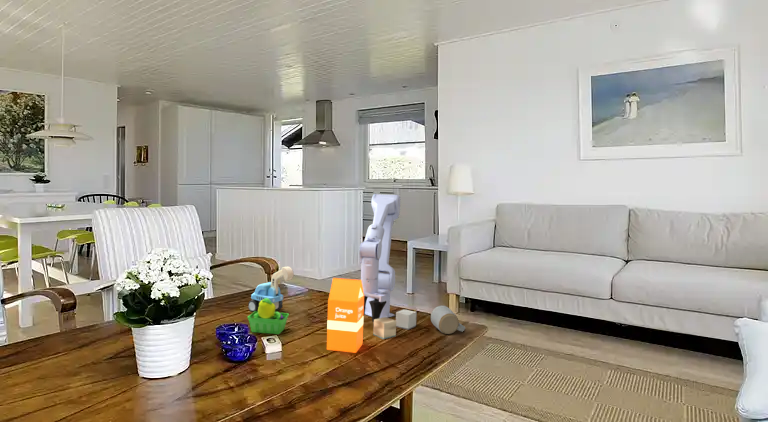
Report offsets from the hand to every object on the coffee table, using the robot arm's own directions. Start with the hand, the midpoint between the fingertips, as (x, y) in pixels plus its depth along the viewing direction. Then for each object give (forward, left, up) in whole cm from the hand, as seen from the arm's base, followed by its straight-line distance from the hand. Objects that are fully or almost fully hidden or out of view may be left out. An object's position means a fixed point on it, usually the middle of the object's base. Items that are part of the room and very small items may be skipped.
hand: (368, 318), depth 154 cm
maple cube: (+8, 0, -3) cm, 9 cm away
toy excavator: (-35, -17, -3) cm, 39 cm away
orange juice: (+9, -16, -3) cm, 19 cm away
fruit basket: (-16, -28, -3) cm, 32 cm away
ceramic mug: (+17, +21, -3) cm, 27 cm away
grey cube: (+5, +12, -3) cm, 14 cm away
